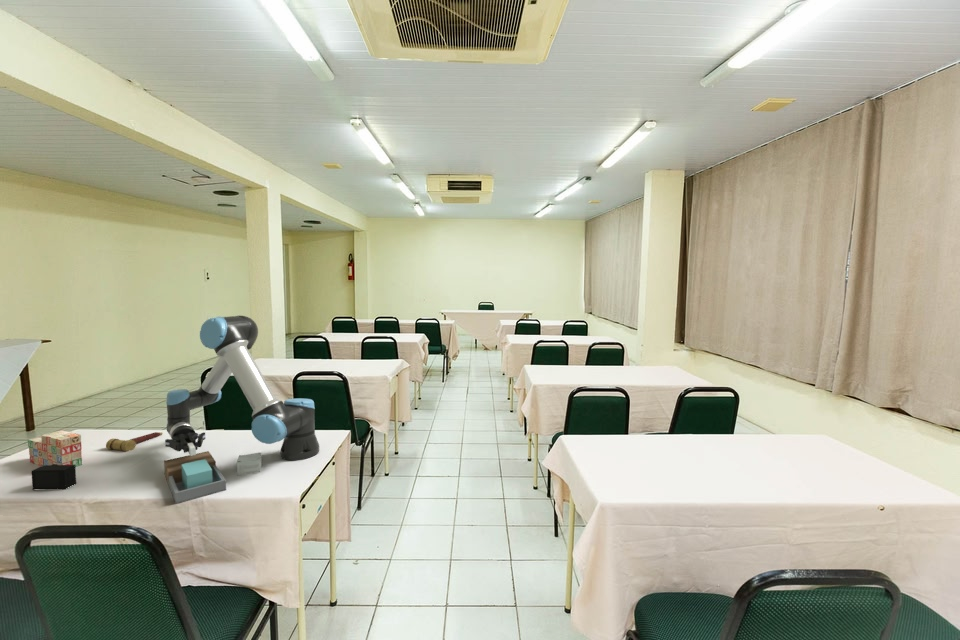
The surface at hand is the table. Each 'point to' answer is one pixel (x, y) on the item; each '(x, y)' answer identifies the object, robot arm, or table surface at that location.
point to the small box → (249, 464)
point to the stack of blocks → (56, 449)
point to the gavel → (129, 442)
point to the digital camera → (54, 476)
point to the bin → (197, 488)
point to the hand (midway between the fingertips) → (193, 451)
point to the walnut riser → (175, 465)
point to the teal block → (196, 474)
